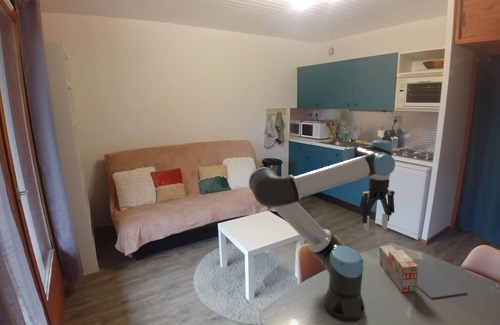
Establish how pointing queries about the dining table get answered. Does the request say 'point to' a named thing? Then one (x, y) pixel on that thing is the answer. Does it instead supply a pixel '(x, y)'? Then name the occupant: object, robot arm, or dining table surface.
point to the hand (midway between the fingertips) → (375, 229)
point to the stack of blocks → (399, 268)
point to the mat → (435, 282)
